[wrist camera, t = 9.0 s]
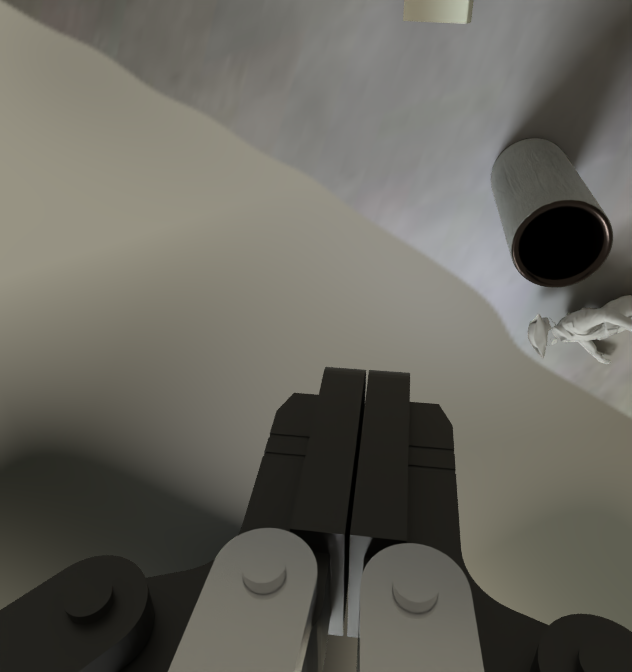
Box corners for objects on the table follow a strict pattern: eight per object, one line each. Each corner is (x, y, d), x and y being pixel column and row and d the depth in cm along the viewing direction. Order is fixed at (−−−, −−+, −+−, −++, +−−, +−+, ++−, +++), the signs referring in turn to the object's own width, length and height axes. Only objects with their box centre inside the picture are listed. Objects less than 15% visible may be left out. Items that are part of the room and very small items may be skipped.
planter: (485, 209, 38) (504, 286, 30) (495, 136, 36) (518, 198, 27) (560, 211, 38) (601, 290, 29) (575, 137, 35) (624, 200, 27)
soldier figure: (694, 344, 42) (534, 398, 42) (664, 282, 44) (508, 334, 44) (767, 315, 35) (573, 380, 35) (728, 241, 36) (539, 304, 36)
